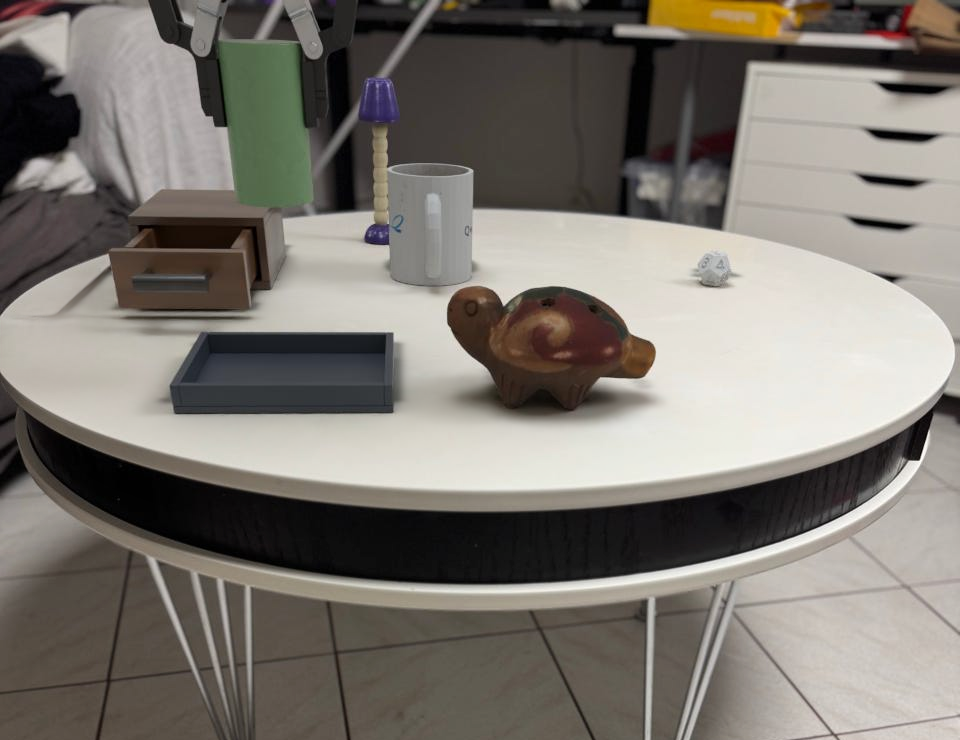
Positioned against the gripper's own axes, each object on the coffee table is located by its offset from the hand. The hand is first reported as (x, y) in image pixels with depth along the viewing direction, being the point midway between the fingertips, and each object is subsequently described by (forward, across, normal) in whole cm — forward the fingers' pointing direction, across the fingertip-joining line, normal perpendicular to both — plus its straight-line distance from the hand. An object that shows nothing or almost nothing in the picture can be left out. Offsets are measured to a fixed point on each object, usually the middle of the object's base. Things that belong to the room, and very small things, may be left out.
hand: (267, 125), depth 59 cm
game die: (+17, -41, -30) cm, 54 cm away
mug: (+17, -11, -31) cm, 37 cm away
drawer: (+16, +11, -21) cm, 29 cm away
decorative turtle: (+17, -19, +3) cm, 26 cm away
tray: (+17, 0, 0) cm, 17 cm away
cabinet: (+17, +11, -34) cm, 39 cm away
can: (+4, 0, 0) cm, 4 cm away
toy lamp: (+17, -6, -49) cm, 52 cm away
